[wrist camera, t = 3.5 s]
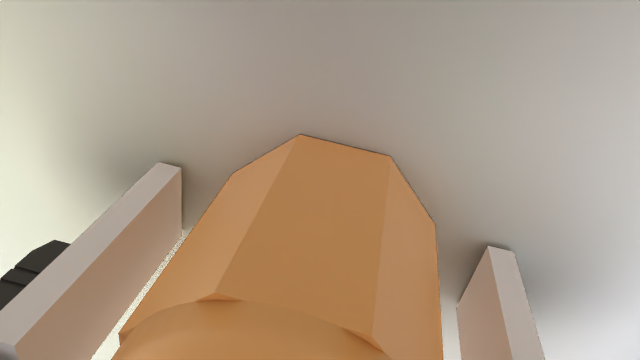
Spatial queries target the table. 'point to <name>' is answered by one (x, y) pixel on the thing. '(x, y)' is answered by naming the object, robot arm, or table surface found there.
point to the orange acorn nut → (299, 267)
